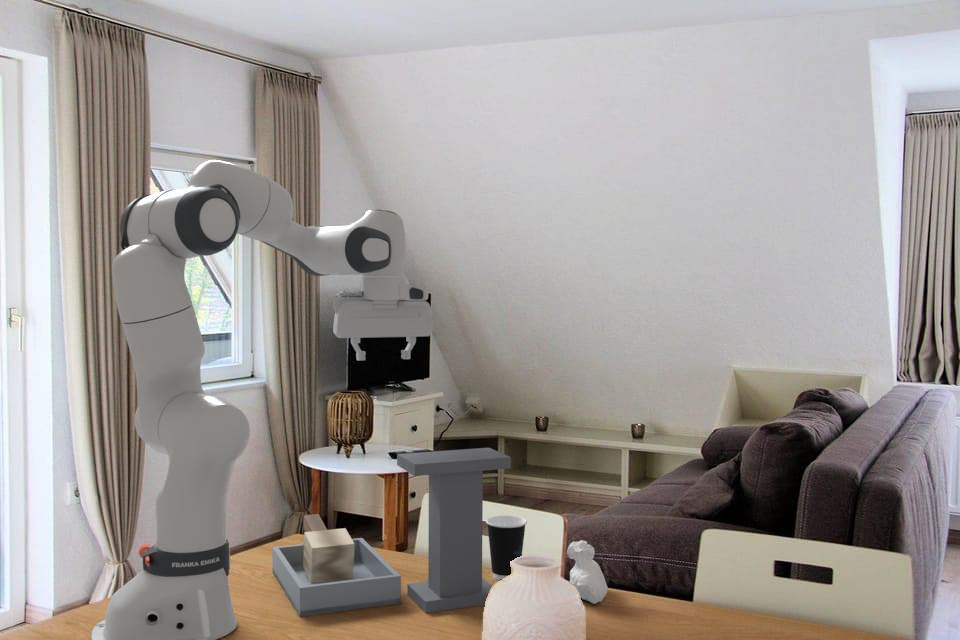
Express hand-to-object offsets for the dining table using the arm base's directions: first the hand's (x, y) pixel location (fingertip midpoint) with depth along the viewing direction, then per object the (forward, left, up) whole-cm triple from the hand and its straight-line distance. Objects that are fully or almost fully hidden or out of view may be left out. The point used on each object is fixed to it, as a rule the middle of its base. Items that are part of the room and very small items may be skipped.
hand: (383, 359), depth 192 cm
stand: (+5, -27, -41) cm, 49 cm away
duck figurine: (+28, -35, -41) cm, 61 cm away
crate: (-13, -13, -41) cm, 45 cm away
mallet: (-14, -3, -38) cm, 41 cm away
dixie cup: (+19, -19, -41) cm, 49 cm away
